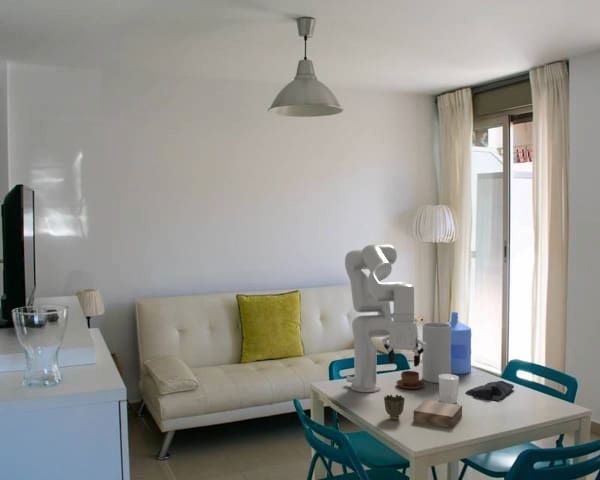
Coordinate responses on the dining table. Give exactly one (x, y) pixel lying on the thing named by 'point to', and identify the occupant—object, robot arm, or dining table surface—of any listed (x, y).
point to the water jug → (460, 346)
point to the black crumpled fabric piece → (491, 391)
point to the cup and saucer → (410, 380)
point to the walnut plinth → (438, 413)
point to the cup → (394, 406)
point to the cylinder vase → (436, 351)
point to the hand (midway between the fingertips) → (404, 364)
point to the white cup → (448, 388)
